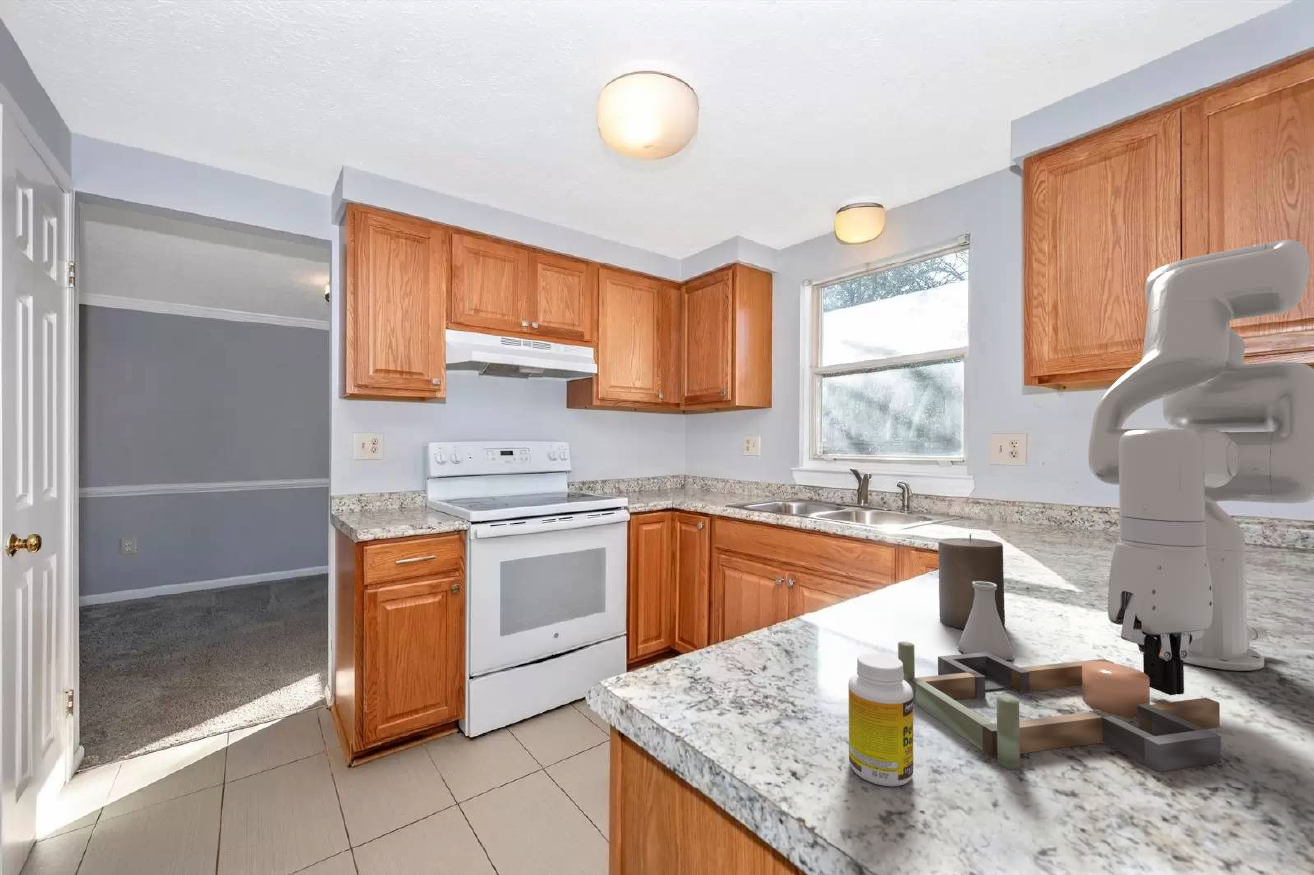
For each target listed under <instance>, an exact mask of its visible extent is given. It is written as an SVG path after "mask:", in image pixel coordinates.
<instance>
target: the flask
mask: <svg viewBox="0 0 1314 875" xmlns="http://www.w3.org/2000/svg"><path fill="white" fill-rule="evenodd" d="M972 586H973V587H974V590H975V597H974V602H973V608H972V610H971V613H970V616H969V619H968V621H967V624H966V626H965V629H963V631H962V633H961V637H960V639H959V641H958V645H957V646H958V647H957V650H958V651H960V652H962V653H963V654H970V653H981V652H988V653H990V654H992V655H994V656H996V657H999V658H1001V659H1003V660H1005V661H1013V660H1014V661H1015V657H1014V652H1013V649H1012V647H1011V644H1010V641H1009V638H1008V637H1007V634H1006V631H1005V629H1004V628H1005V627H1004V628H1003V626H1002V623H1001V620H1000V617H999V615H998V612H997V607H996V603H995V590H997V584H994V583H991V582H983V581H975V582H972Z"/></svg>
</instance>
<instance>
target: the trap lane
mask: <svg viewBox="0 0 1314 875" xmlns="http://www.w3.org/2000/svg"><path fill="white" fill-rule="evenodd" d="M897 658H898V659H899V660H901V661H902V663H903V673H904V677H903V679H904V680H905V681H906V682H907V683H908V684H909V685H910V686H911V688H912V691H913V704H915V705H917V706H918V708H921V709H922V710H924V711H925V712H927V713H928V714H929V715H931V716H932V717H934V718H935V719H936V720H938V721H940V722H941V723H942V724H943V725H945V726H947V727H948V728H949V729H951V730H952V731H954V732H955V733H956V734H958V735H959V736H961V737H963V738H964V739H965V740H967V741H968V742H970V743H971V744H973V745H974V746H975V747H977V748H978V749H980V750H981V751H982V752H984V753H985V754H987V755H989V756H990V757H991V758H997V761H996V762H997V764H998V765H999V766H1000V767H1002V768H1005V769H1007V770H1013V771H1014V770H1015V771H1016V770H1019V769H1020V768H1021V754H1026V753H1033V752H1034V753H1035V752H1041V751H1048V750H1049V751H1050V750H1055V749H1064V748H1072V747H1078V746H1085V745H1086V746H1087V745H1093V744H1099V743H1103V744H1106V745H1107V746H1109V747H1111V748H1112V749H1115V750H1117V751H1119V752H1121V753H1122V754H1124V755H1126V756H1128V757H1130V758H1132V759H1133V760H1135V761H1137V762H1140V763H1141V764H1142V765H1144V766H1147V767H1148V768H1151V769H1152V770H1154V771H1155V772H1158V773H1160V772H1168V771H1174V770H1179V769H1180V770H1181V769H1187V768H1193V767H1200V766H1206V765H1212V764H1219V763H1220V764H1221V763H1222V736H1221V735H1220V734H1218V733H1215V732H1213V731H1211V730H1208V729H1209V728H1216V727H1217V728H1218V727H1221V720H1220V719H1221V718H1220V710H1221V709H1220V702H1218V701H1217V700H1213V699H1211V698H1209V697H1202V698H1193V699H1185V700H1177V701H1175V700H1174V701H1169V702H1168V701H1167V702H1160V703H1150V705H1148V704H1141V705H1138V718H1137V727H1136V726H1134V725H1132V724H1129V723H1128V722H1125V721H1123V720H1122V719H1119V718H1116V716H1114V715H1111V714H1108V713H1105V712H1102V711H1100V710H1097V709H1093V710H1089V711H1087V712H1078V713H1069V714H1063V715H1060V714H1059V715H1054V716H1045V717H1038V718H1028V719H1021V720H1020V701H1019V700H1018V699H1017V698H1014V697H1012V696H1007V695H998V696H996V723H992V722H991V721H989V720H987V719H986V718H984V717H983V716H981V715H979V714H978V713H976V712H975V711H973V710H972V709H970V708H968V707H966V706H965V705H964V704H961V703H960V702H958V700H954V699H959V700H965V699H966V698H968V699H985V698H986V695H987V694H986V692H992V691H1000V690H1001V691H1002V690H1010V689H1012V690H1014V691H1016V692H1018V693H1019V694H1028V693H1030V692H1039V691H1045V690H1047V691H1048V690H1055V689H1067V688H1075V687H1082V664H1083V663H1085V662H1089V661H1100V662H1109V663H1115V662H1114V661H1111V660H1108V659H1106V658H1100V659H1091V660H1090V659H1089V660H1079V661H1070V662H1059V663H1048V664H1039V665H1029V666H1022V667H1021V666H1018V665H1015V664H1013V663H1011V662H1009V661H1008V660H1003V659H1001V658H999V657H996V656H994V655H992V654H990V653H988V652H981V653H970V654H965V653H961V654H951V655H949V654H948V655H939V656H937V675H929V676H928V675H927V676H920V677H916V674H915V671H916V670H915V668H916V666H915V659H916V658H915V644H914V643H912V642H909V641H899V642H897ZM972 697H973V698H972ZM974 697H975V698H974ZM964 698H965V699H964Z"/></svg>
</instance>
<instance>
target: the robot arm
mask: <svg viewBox="0 0 1314 875" xmlns="http://www.w3.org/2000/svg"><path fill="white" fill-rule="evenodd" d="M1310 274H1311V260H1310V255H1309V252H1308V250H1307V248H1306V247H1305V246H1304V245H1303V244H1302V243H1301V242H1300V241H1298V240H1295V239H1289V238H1288V239H1281V240H1277V241H1270V242H1264V243H1259V244H1254V245H1248V246H1244V247H1239V248H1232V249H1230V250H1224V251H1223V250H1222V251H1219V252H1213V253H1208V254H1207V253H1206V254H1202V255H1197V256H1192V257H1189V258H1184V259H1179V260H1177V261H1174V262H1171V263H1167V264H1165V265H1162V266H1160V267H1158V268H1157V269H1156V270H1154V271H1152V272H1151V273H1150V275H1149V276H1148V277H1147V279H1146V282H1145V286H1144V291H1145V292H1144V295H1145V300H1146V301H1145V302H1146V304H1147V308H1148V309H1147V316H1146V325H1145V331H1144V332H1145V334H1144V340H1143V350H1142V359H1141V361H1140V362H1139V363H1138V364H1136V365H1135V366H1134V367H1132V368H1131V369H1129V370H1128V371H1126V372H1125V373H1124V374H1123V375H1122V376H1120V378H1118V379H1117V380H1116V381H1115V382H1114V383H1113V384H1112V385H1111V386H1110V387H1109V388H1108V390H1106V392H1105V393H1104V394H1103V396H1102V397H1101V399H1099V401H1098V404H1097V405H1096V407H1095V409H1094V413H1093V417H1092V422H1091V429H1090V436H1089V443H1088V457H1087V458H1088V460H1087V461H1088V466H1089V469H1090V471H1091V473H1092V475H1093V476H1094V477H1095V478H1096V479H1097V480H1098V481H1100V482H1103V483H1105V484H1108V485H1114V486H1118V487H1119V488H1118V491H1119V498H1118V499H1119V542H1117V543H1115V545H1114V549H1113V552H1112V556H1111V557H1112V558H1111V563H1110V570H1109V576H1108V577H1109V580H1108V595H1107V615H1108V620H1109V621H1110V622H1111V623H1112V624H1115V625H1121V626H1122V627H1121V631H1120V638H1121V640H1124V641H1127V642H1129V643H1133V644H1136V645H1138V646H1137V647H1138V651H1139V652H1140V653H1142V654H1143V660H1142V662H1143V663H1142V664H1143V665H1142V666H1143V673H1145V674H1146V675H1148V676H1149V678H1150V689H1153V690H1155V691H1158V692H1161V693H1163V694H1166V695H1169V696H1176V695H1183V694H1184V693H1185V670H1184V669H1185V667H1184V666H1185V665H1184V663H1185V664H1189V665H1193V666H1194V665H1195V666H1200V667H1205V668H1209V669H1210V668H1211V669H1217V670H1227V671H1236V672H1237V671H1240V672H1242V671H1243V672H1244V671H1245V672H1247V671H1249V672H1250V671H1257V670H1260V669H1263V668H1264V667H1265V657H1264V656H1263V655H1262V654H1261V653H1259V652H1258V651H1255V650H1254V649H1251V648H1250V643H1251V642H1252V641H1257V640H1264V639H1267V637H1268V632H1267V630H1266V629H1265V628H1264V627H1263V626H1261V625H1257V624H1256V625H1248V624H1247V591H1246V588H1247V586H1246V583H1247V582H1246V581H1247V580H1246V578H1247V577H1246V538H1245V534H1244V532H1243V530H1242V527H1241V526H1240V525H1239V523H1238V522H1237V521H1236V520H1235V519H1234V518H1232V516H1231V515H1230V514H1228V513H1227V512H1226V511H1225V510H1224V509H1223V508H1221V506H1219V505H1218V504H1217V503H1218V502H1242V503H1243V502H1247V503H1249V502H1250V503H1265V504H1292V505H1293V504H1303V503H1309V502H1311V501H1313V500H1314V368H1313V367H1311V366H1310V365H1307V364H1306V363H1302V362H1296V361H1276V362H1274V361H1273V362H1259V363H1250V364H1247V363H1246V364H1245V350H1246V348H1245V347H1246V346H1245V345H1246V344H1245V341H1244V339H1243V338H1242V337H1241V336H1240V335H1239V334H1238V333H1237V332H1236V331H1234V330H1233V329H1232V328H1231V321H1233V320H1239V319H1246V318H1248V319H1249V318H1256V317H1263V316H1271V315H1279V314H1284V313H1286V312H1290V311H1292V310H1293V309H1294V308H1296V307H1297V306H1298V305H1299V303H1300V301H1301V300H1302V297H1303V295H1304V294H1305V293H1304V292H1305V290H1306V288H1307V285H1308V282H1309V279H1310V276H1311V275H1310ZM1160 399H1162V414H1163V418H1164V420H1165V421H1166V423H1167V424H1168V425H1169V426H1171V427H1172V428H1169V427H1168V428H1167V427H1166V428H1165V427H1162V428H1157V427H1156V428H1125V429H1124V428H1123V426H1124V425H1125V422H1126V421H1127V420H1128V418H1129V417H1131V416H1132V415H1133V413H1135V412H1136V411H1138V410H1139V409H1141V408H1143V407H1145V406H1147V405H1149V404H1150V403H1153V402H1155V401H1158V400H1160Z"/></svg>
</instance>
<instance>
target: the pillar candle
mask: <svg viewBox="0 0 1314 875" xmlns="http://www.w3.org/2000/svg"><path fill="white" fill-rule="evenodd" d="M937 541H938V542H937V543H938V547H937V550H938V558H937V559H938V597H939V600H938V601H939V604H938V605H939V606H938V607H939V620H940V622H941V621H943V622H942V623H943V624H944V623H945V625H946V624H947V626H949V625H950V626H949V627H953V628H957V629H960V630H964V629H965V626H966V624H967V621H968V619H969V616H970V613H971V610H972V608H973V602H974V597H975V590H974V587H973V586H972V582H975V581H983V582H991V583H994V584H997V590H995V603H996V607H997V612H998V615H999V617H1000V620H1001V623H1002V626H1003V628H1004V630H1005V629H1006V627H1005V625H1006V612H1005V611H1006V610H1005V607H1006V606H1005V589H1004V587H1005V580H1004V579H1005V578H1004V576H1005V575H1004V574H1005V573H1004V545H1003V543H1001V542H999V541H995V540H991V539H981V538H973V537H972V534H971V533H970V534H969V538H968V537H953V538H952V537H948V538H941V539H938V540H937Z"/></svg>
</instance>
